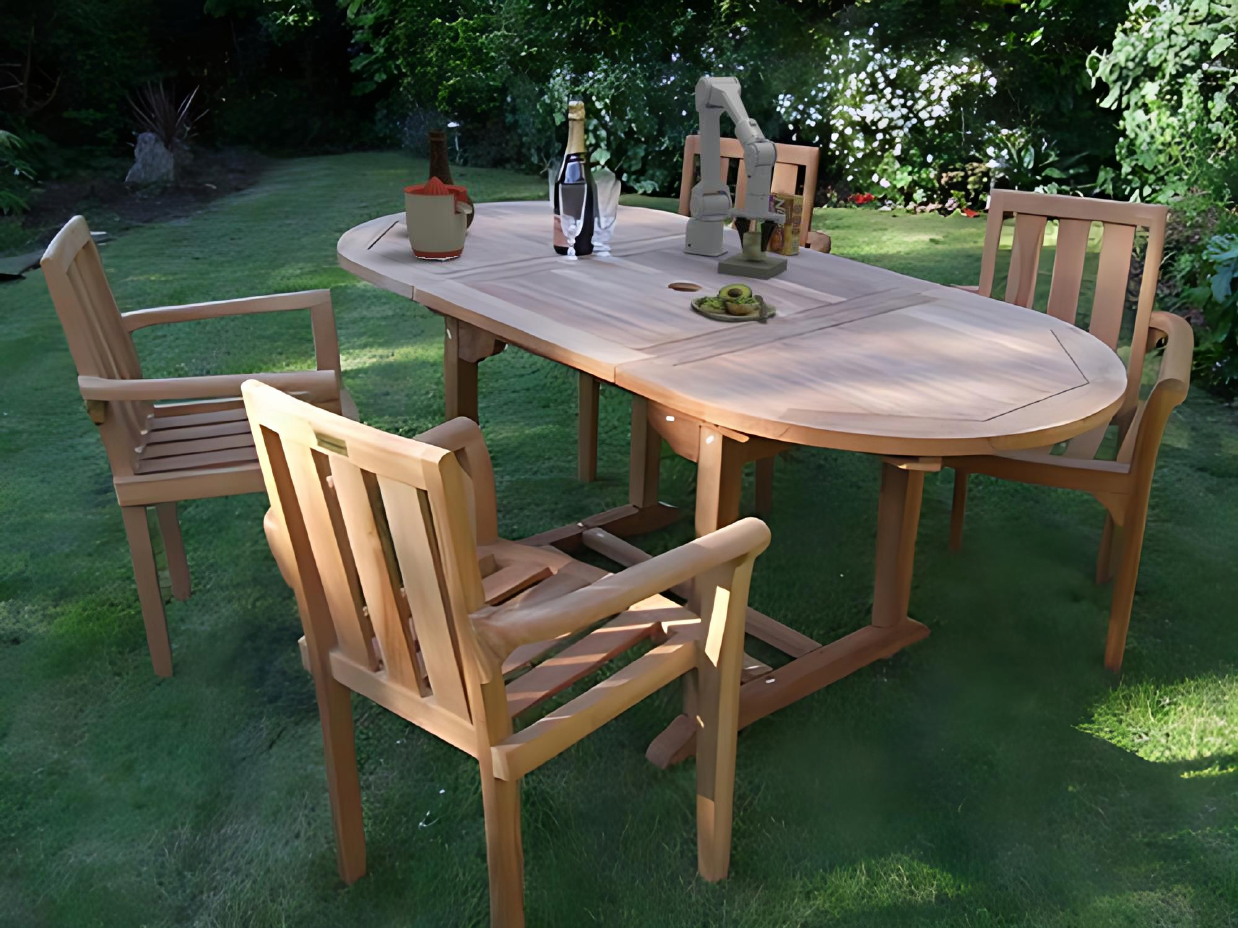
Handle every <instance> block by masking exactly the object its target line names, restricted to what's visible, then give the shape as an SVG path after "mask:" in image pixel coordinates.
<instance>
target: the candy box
mask: <svg viewBox="0 0 1238 928" xmlns="http://www.w3.org/2000/svg"><path fill="white" fill-rule="evenodd" d="M803 208H804V195H800V194H799V195H798V194H793V193H788V192H782V191H774V192H770V195H769V209H768V212H772V213H777V214H783V215H786V220H785V223H784V224H779V223H777V226H776V228H775V229H774V231H773V233H772V235H771V237H770V240H769V243H768V246H767V250H766V252H773V253H777V254H781V255H785V256H793V255H794V256H795V255H799V254H800V253H799V252H800V242H801V229H802V220H803V219H802V217H803Z"/></svg>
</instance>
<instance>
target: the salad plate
mask: <svg viewBox="0 0 1238 928" xmlns="http://www.w3.org/2000/svg"><path fill="white" fill-rule="evenodd" d="M690 307H691V308H692V309H693V310H694V311H695V312H696V313H698V314H701V315H704V316H705V317H708V318H711V319H714V320H718V321H722V322H733V323H734V322H737V323H741V322H748V321H749V322H750V321H760V320H763V319H768V318H769V316H771V315H774V314H775V312H776V311H777V307H776V306H775V305H772V304H770V303H767V302H765V301H764V297H763V296H762V295H759V294H754V295H753V291H752V289H751V287H750V286H748V285H745V284H742V283H736V284H735V283H734V284H730V285H726V286H723V287H722V288H720V289H719V290H718V293H717V294H716V296H708V295H705V296H704V297H697V298H696V297H695V298H694V299H692V300H691V301H690Z"/></svg>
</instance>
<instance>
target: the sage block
mask: <svg viewBox="0 0 1238 928" xmlns="http://www.w3.org/2000/svg"><path fill="white" fill-rule="evenodd" d="M741 250H742V252H741V253H742V258H748V259H755V260H760V259H762V258H765V257H767V250H766V251H765V252H761V231H760V230H759V231H758V230H749V231H748V232H746V233H744V236H743V249H741Z"/></svg>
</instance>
